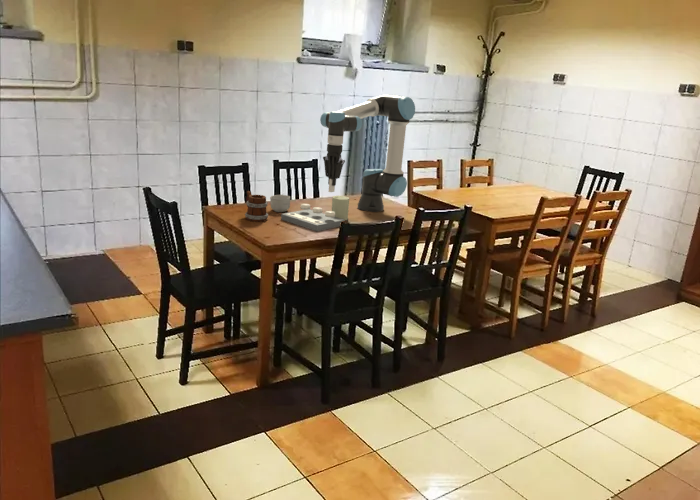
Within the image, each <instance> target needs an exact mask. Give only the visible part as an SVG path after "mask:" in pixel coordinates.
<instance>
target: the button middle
mask: <svg viewBox="0 0 700 500" xmlns="http://www.w3.org/2000/svg"><path fill="white" fill-rule="evenodd" d="M312 210H313V213H323V208H322V207H318V206H317V207H312Z"/></svg>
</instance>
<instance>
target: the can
mask: <svg viewBox="0 0 700 500" xmlns="http://www.w3.org/2000/svg"><path fill="white" fill-rule="evenodd" d="M331 197H332V198H331V211H333V212H335V217H337V218H341V219H344V220H346V221H349V208H350V207H349V206H350V197H348V196H345V195H333V196H331Z"/></svg>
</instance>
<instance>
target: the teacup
mask: <svg viewBox="0 0 700 500" xmlns="http://www.w3.org/2000/svg"><path fill="white" fill-rule="evenodd" d="M269 199H270V200H269V201H270V208H271V210H273V211H274V212H276V213H284V212H285V213H286V212H287V211H288V210H289V209H290V207H291V196H290V195H285V194H275V195H274V194H273V195H271V196H270V197H269Z"/></svg>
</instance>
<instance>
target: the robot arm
mask: <svg viewBox="0 0 700 500" xmlns="http://www.w3.org/2000/svg"><path fill="white" fill-rule="evenodd" d="M415 113H416V104H415V101H414V100H413V99H412V97H409V96H405V95H396V94H394V95H393V94H381V95H378V96H375V97H371V98H369V99H367V100H366V101H365V102H362V103H360V104H355V105H353V106H350V107H345V108H344V109H340V110H337V111H336V110H334V111H333V110H332V111H328V112H327V111H326V112H323V113H322V114H320V121H319V122H320V124H321V126H322V127H324V128H327V129H328V131H327V144H326V152H327V153H326V155H325V156H322V159H323V160H322V161H323V163H324V172H325V177H327V178H328V179H327V180H328V192H329V193H334V192H335V187H336V184H337V179H340V178H341V174H342V170H343V166H344V164H345V163H346V161H345V159H343V158H342V152H343V144H344V134H345V133H344V132H359V131H360V130H361V129H362V126H363V121H362V119H364V118H368V117H370V116H371V117H376V116H379V117H380V116H383V117H387V122H388V123H389V133H388V141H387V142H388V143H387V145H388V146H387V153H386V164H385V168H384V169H383V168H367V169H365V170H364V171H363V173H362V174H363V175H362V182H361V183H362V185H361V195H360V198H359V200H358V203H357V209H358V210H361V211H364V212H372V213H373V212H383V211H384V207H385V205H384V202H383V197H382V196H383V195H386V196H389V197H394V198H398V197H400V196H402V195H403V194H404V193H405V191H406V189H407V187H408V186H407V185H408V181H407V178H406V177H405V176H404V173H405V172H404V171H403V170H402V164H403V157H404V150H405V149H404V148H405V138H406V130H407V125H408V124H410V120H412V119H413V118H414V116H415Z"/></svg>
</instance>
